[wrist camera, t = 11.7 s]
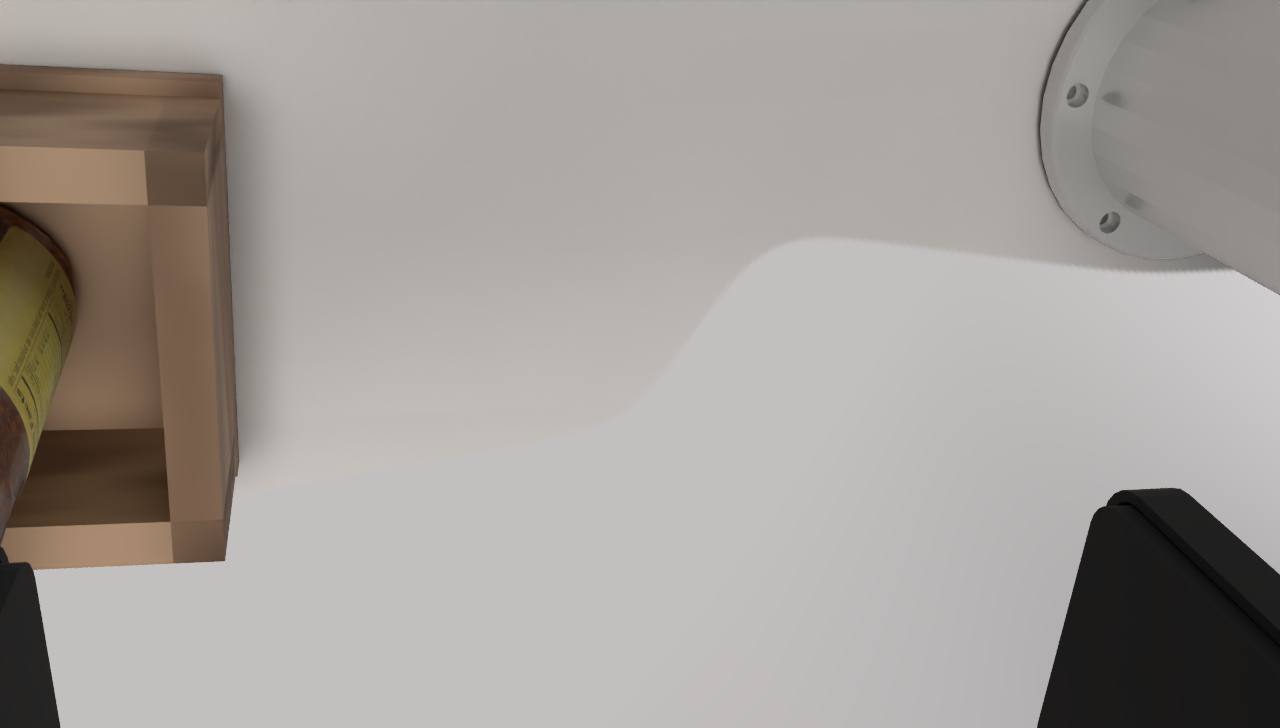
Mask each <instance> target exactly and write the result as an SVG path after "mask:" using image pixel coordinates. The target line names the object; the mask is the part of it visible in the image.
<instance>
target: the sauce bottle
mask: <svg viewBox="0 0 1280 728" xmlns="http://www.w3.org/2000/svg"><path fill="white" fill-rule="evenodd" d="M77 319H78V315H77V308H76V301H75V290H74V286H73V279H72V270H71V267H70V265H69V262H68V260H67V258H66V257H65V255H64V254H63V253H62V252H61V251H60V250H59V249H58V248H57V246H56V245H55V244H54V243H53V241H52V240H51V239H50V237H48V236H47V235H45V234H43V233H42V232H41V231H40V230H39V229H38V228H36V227H35V226H34V225H33V224H31V223H30V222H28V221H26V220H25V219H23V218H21V217H20V216H18V215H17V214H16V213H14V212H11V211H9V210H8V209H7V208H5V207H1V206H0V546H1V543H2V540H3V536H4V533H5V530H6V527H7V523H8V520H9V518H10V515H11V512H12V508H13V505H14V503H15V502H16V500H17V498H18V497H19V495H20V494H21V492H22V489H23V487H24V484H25V482H26V479H27V476H28V473H29V470H30V467H31V464H32V461H33V458H34V454H35V451H36V448H37V445H38V442H39V438H40V435H41V432H42V429H43V426H44V423H45V420H46V417H47V414H48V412H49V408H50V405H51V402H52V399H53V396H54V393H55V390H56V387H57V384H58V381H59V378H60V375H61V373H62V370H63V367H64V364H65V361H66V358H67V355H68V352H69V349H70V346H71V343H72V340H73V337H74V333H75V328H76V323H77Z"/></svg>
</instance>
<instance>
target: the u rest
mask: <svg viewBox="0 0 1280 728" xmlns="http://www.w3.org/2000/svg"><path fill="white" fill-rule="evenodd" d="M0 206H1V207H5V208H7V209H8V210H9V211H11V212H14V213H16V214H17V215H18V216H20V217H21V218H23V219H25V220H26V221H28V222H30V223H31V224H33V225H34V226H35V227H36V228H38V229H39V230H40V231H41V232H42V233H43V234H45V235H47V236H48V237H50V239H51V240H52V241H53V243H54V244H55V245H56V246H57V248H58V249H59V250H60V251H61V252H62V253H63V254H64V255H65V257H66V258H67V260H68V262H69V265H70V267H71V270H72V279H73V286H74V290H75V301H76V308H77V315H78V319H77V323H76V328H75V333H74V337H73V340H72V343H71V346H70V349H69V352H68V355H67V358H66V361H65V364H64V367H63V370H62V373H61V375H60V378H59V381H58V384H57V387H56V390H55V393H54V396H53V399H52V402H51V405H50V408H49V412H48V414H47V417H46V420H45V423H44V426H43V429H42V432H41V435H40V438H39V442H38V445H37V448H36V451H35V454H34V458H33V461H32V464H31V467H30V470H29V473H28V476H27V479H26V482H25V484H24V487H23V489H22V492H21V494H20V495H19V497H18V498H17V500H16V502H15V503H14V505H13V508H12V512H11V515H10V518H9V520H8V523H7V527H6V530H5V533H4V536H3V540H2V543H1V547H2V548H3V549H4V551H5V553H6V555H7V557H8V561H9V563H14V562H28V563H29V564H30V565H31V567H32V569H33V570H37V569H58V568H81V567H104V566H126V565H148V564H168V563H169V564H170V563H193V562H214V561H225V555H226V547H227V539H228V531H229V522H230V514H231V507H232V498H233V490H234V482H235V477H237V474H238V466H239V454H238V430H237V407H236V384H235V361H234V337H233V314H232V291H231V268H230V244H229V221H228V198H227V175H226V152H225V128H224V105H223V82H222V75H212V74H191V73H170V72H149V71H128V70H108V69H87V68H66V67H45V66H24V65H3V64H0Z"/></svg>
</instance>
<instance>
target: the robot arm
mask: <svg viewBox="0 0 1280 728" xmlns="http://www.w3.org/2000/svg"><path fill="white" fill-rule="evenodd" d="M1069 89H1070V90H1069ZM1040 135H1041V149H1042V160H1043V163H1044V167H1045V171H1046V174H1047V178H1048V181H1049V185H1050V187H1051V189H1052V191H1053V193H1054V195H1055V197H1056V198H1057V200H1058V202H1059V204H1060V206H1061V208H1062V209H1063V210H1064V212H1065V213H1066V214H1067V215H1068V216H1069V217H1070V218H1071V219H1072V221H1073V222H1074V223H1075V224H1076V225H1077V226H1078V227H1079V228H1080V229H1082V230H1083V231H1084V232H1086V233H1087V234H1089V235H1090V236H1092V237H1093V238H1095V239H1096V240H1097V241H1099V242H1101V243H1102V244H1104V245H1106V246H1108V247H1110V248H1112V249H1114V250H1116V251H1118V252H1120V253H1122V254H1126V255H1131V256H1135V257H1139V258H1143V259H1159V260H1174V259H1179V258H1185V257H1190V256H1196V255H1201V254H1203V253H1205V254H1207V255H1209V256H1211V257H1212V258H1214V259H1216V260H1218V261H1220V262H1221V263H1223V264H1225V265H1227V266H1229V267H1230V268H1232V269H1234V270H1236V271H1238V272H1239V273H1241V274H1243V275H1245V276H1247V277H1248V278H1250V279H1252V280H1254V281H1255V282H1257V283H1259V284H1261V285H1263V286H1264V287H1266V288H1268V289H1270V290H1272V291H1273V292H1275V293H1277V294H1279V295H1280V0H1089V1H1088V2H1087V3H1086V5H1085V6H1084V8H1083V9H1082V11H1081V12H1080V14H1079V15H1078V17H1077V18H1076V20H1075V21H1074V23H1073V24H1072V26H1071V28H1070V29H1069V31H1068V32H1067V34H1066V36H1065V39H1064V41H1063V43H1062V45H1061V47H1060V49H1059V52H1058V54H1057V56H1056V58H1055V60H1054V63H1053V65H1052V69H1051V72H1050V76H1049V79H1048V83H1047V86H1046V90H1045V94H1044V97H1043V106H1042V116H1041V125H1040ZM0 728H60V722H59V717H58V711H57V705H56V699H55V693H54V687H53V681H52V675H51V669H50V663H49V657H48V652H47V646H46V640H45V634H44V628H43V622H42V616H41V611H40V604H39V598H38V593H37V587H36V582H35V576H34V572H33V569H32V567H31V565H30V564H29V563H28V562H14V563H9V561H8V557H7V555H6V553H5V551H4V549H3V548H2V547H1V546H0ZM1037 728H1280V575H1279V574H1278V573H1277V572H1276V571H1275V570H1274V569H1273V568H1272V567H1270V566H1269V565H1268V564H1267V563H1266V562H1265V561H1264V560H1263V559H1261V558H1260V557H1259V556H1258V555H1257V554H1256V553H1255V552H1254V551H1252V550H1251V549H1250V548H1249V547H1248V546H1247V545H1246V544H1244V543H1243V542H1242V541H1241V540H1240V539H1239V538H1238V537H1237V536H1236V535H1234V534H1233V533H1232V532H1231V531H1230V530H1229V529H1228V528H1226V527H1225V526H1224V525H1223V524H1222V523H1221V522H1220V521H1218V520H1217V519H1216V518H1215V517H1214V516H1213V515H1212V514H1211V513H1209V512H1208V511H1207V510H1206V509H1205V508H1204V507H1203V506H1201V505H1200V504H1199V503H1198V502H1197V501H1196V500H1195V499H1194V498H1193V497H1191V496H1190V495H1189V494H1188V493H1186V492H1184V491H1183V490H1181V489H1176V488H1160V489H1140V490H1122V491H1120V492H1117V493H1115V494H1114V495H1113V496H1112V497H1111V498H1110V500H1109V501H1108V503H1107V505H1106V506H1104V507H1102V508H1099V509H1098V510H1097V511H1096V512H1095V514H1094V515H1093V518H1092V521H1091V523H1090V527H1089V531H1088V535H1087V538H1086V543H1085V546H1084V550H1083V554H1082V557H1081V562H1080V565H1079V569H1078V573H1077V577H1076V580H1075V584H1074V588H1073V592H1072V596H1071V599H1070V603H1069V607H1068V611H1067V614H1066V618H1065V622H1064V626H1063V630H1062V634H1061V637H1060V641H1059V645H1058V649H1057V653H1056V656H1055V660H1054V664H1053V668H1052V672H1051V675H1050V679H1049V683H1048V687H1047V691H1046V694H1045V698H1044V702H1043V706H1042V710H1041V713H1040V717H1039V721H1038V726H1037Z"/></svg>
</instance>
